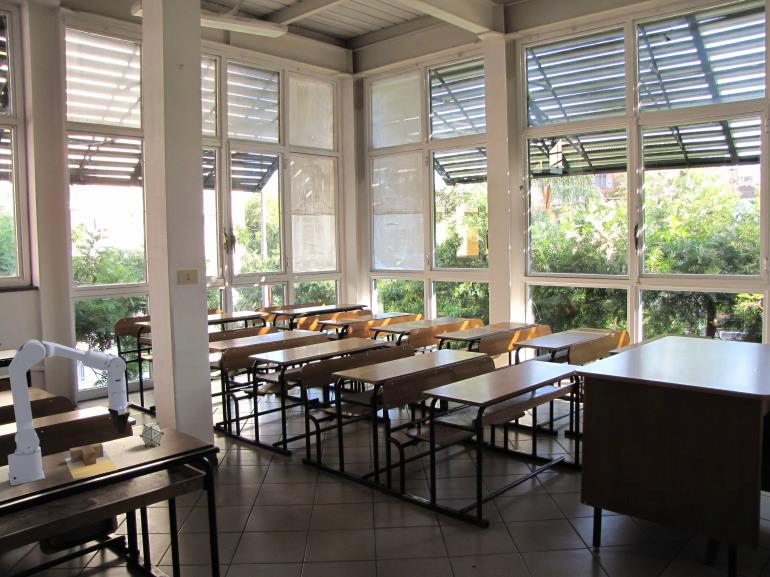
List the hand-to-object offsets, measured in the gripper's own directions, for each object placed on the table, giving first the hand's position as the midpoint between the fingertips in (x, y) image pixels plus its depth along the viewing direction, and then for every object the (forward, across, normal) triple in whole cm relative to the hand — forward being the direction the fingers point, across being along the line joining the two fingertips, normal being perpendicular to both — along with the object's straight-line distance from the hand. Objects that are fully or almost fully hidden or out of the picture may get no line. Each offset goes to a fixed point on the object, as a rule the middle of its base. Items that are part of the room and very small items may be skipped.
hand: (120, 430), depth 223 cm
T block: (+10, +5, +10) cm, 15 cm away
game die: (+10, +10, -12) cm, 19 cm away
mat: (+10, +1, +10) cm, 14 cm away
